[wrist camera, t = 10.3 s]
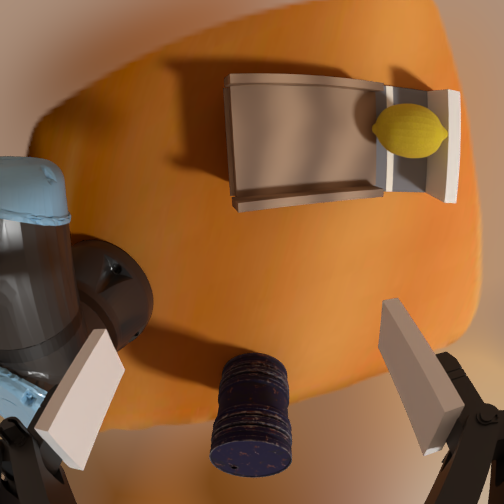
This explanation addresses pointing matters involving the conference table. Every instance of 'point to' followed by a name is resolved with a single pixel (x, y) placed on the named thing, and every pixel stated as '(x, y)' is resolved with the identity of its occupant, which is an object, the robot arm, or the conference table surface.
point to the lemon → (409, 130)
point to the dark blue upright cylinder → (252, 418)
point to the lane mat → (404, 169)
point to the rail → (445, 146)
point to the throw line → (389, 155)
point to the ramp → (299, 139)
